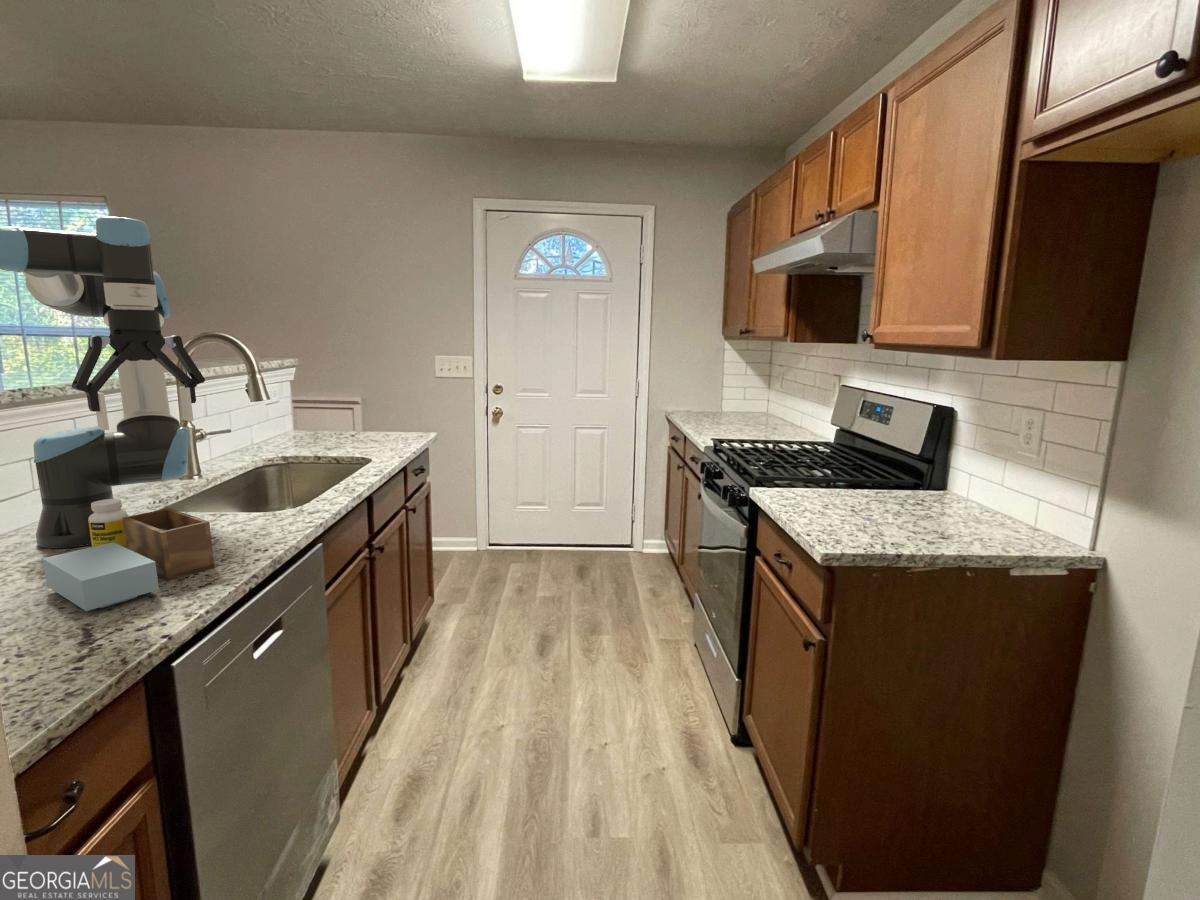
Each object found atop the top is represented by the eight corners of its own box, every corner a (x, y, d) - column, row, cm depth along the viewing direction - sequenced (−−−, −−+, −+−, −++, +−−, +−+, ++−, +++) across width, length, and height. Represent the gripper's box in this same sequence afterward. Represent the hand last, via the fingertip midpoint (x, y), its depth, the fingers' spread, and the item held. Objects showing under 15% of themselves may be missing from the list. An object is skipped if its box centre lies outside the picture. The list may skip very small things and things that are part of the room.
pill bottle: (89, 562, 119) (81, 507, 117) (97, 552, 124) (89, 499, 122) (129, 557, 121) (122, 503, 119) (135, 548, 127) (128, 496, 125)
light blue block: (48, 592, 105) (42, 558, 104) (117, 574, 114) (113, 542, 112) (87, 618, 96) (81, 581, 95) (159, 596, 104) (155, 561, 103)
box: (128, 562, 119) (122, 517, 117) (174, 550, 126) (169, 508, 124) (167, 580, 110) (161, 532, 109) (214, 567, 117) (209, 521, 115)
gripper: (50, 306, 99) (71, 436, 103) (216, 310, 119) (228, 419, 123) (36, 306, 103) (56, 430, 107) (198, 310, 123) (210, 415, 128)
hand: (148, 424), depth 115 cm, fingers open, 13 cm apart
